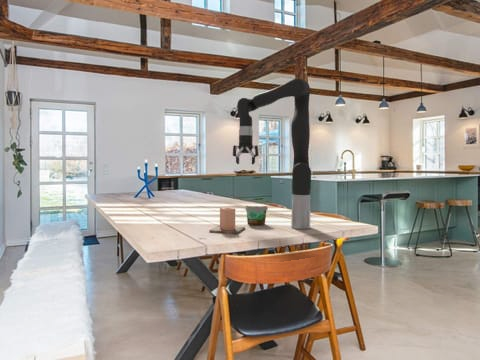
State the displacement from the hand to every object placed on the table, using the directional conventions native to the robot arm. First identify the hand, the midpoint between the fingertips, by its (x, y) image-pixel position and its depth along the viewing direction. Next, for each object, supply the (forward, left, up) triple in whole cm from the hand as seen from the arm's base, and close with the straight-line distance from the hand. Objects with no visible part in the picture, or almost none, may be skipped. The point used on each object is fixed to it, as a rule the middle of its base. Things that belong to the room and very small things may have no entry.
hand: (245, 164), depth 195 cm
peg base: (+1, +27, -32) cm, 42 cm away
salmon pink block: (+1, +27, -31) cm, 41 cm away
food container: (-8, +8, -32) cm, 34 cm away
